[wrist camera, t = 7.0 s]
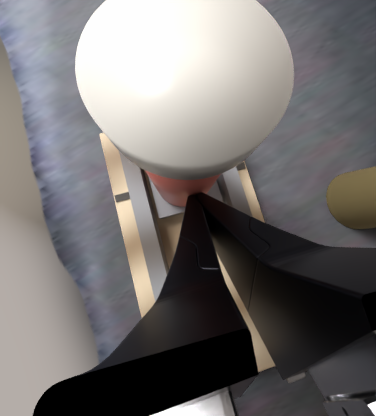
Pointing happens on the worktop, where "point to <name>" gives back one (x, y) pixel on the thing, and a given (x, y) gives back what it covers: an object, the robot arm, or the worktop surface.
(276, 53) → the red plug
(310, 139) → the worktop surface
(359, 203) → the cork
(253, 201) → the plug rig
